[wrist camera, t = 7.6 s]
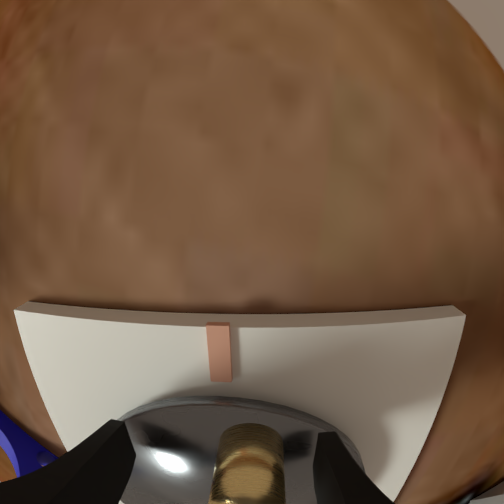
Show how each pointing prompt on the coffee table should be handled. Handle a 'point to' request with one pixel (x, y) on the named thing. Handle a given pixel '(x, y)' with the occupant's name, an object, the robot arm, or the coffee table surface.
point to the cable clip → (22, 448)
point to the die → (491, 496)
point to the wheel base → (252, 369)
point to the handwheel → (223, 452)
